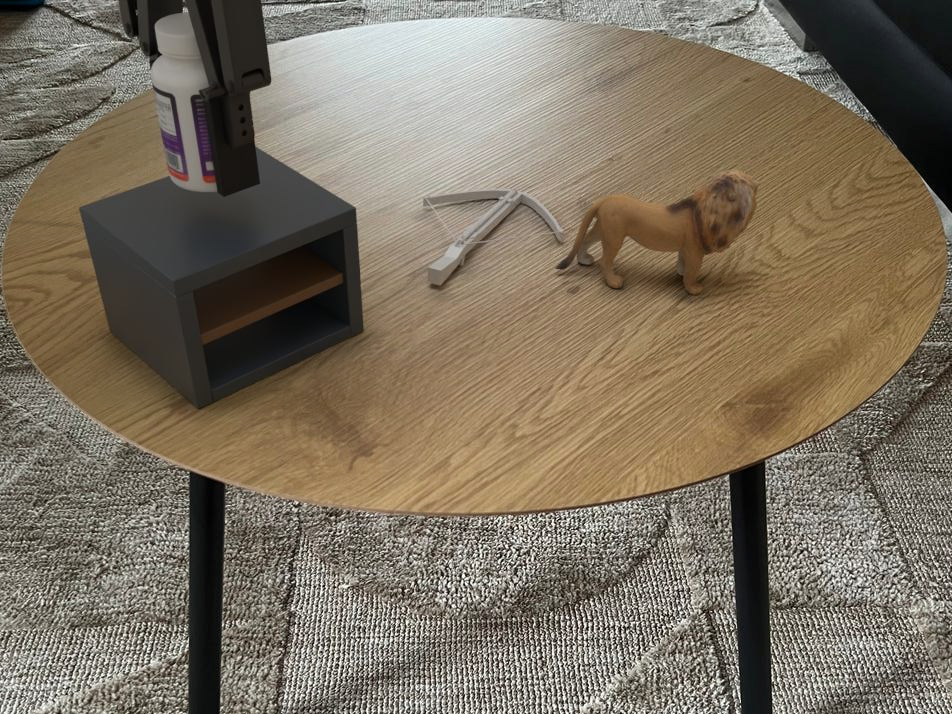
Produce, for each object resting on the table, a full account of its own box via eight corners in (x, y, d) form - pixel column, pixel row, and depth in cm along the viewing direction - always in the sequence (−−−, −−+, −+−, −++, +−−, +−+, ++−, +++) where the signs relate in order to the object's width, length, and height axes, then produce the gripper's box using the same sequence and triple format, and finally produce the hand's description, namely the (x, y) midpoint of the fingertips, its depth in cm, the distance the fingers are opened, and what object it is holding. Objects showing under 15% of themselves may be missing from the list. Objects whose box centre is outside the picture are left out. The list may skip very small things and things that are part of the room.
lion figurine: (735, 261, 88) (756, 157, 82) (746, 297, 85) (770, 191, 78) (553, 257, 88) (561, 153, 82) (556, 294, 84) (565, 187, 78)
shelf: (109, 331, 80) (78, 206, 73) (270, 264, 87) (255, 145, 80) (198, 409, 73) (173, 281, 66) (364, 330, 80) (356, 207, 73)
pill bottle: (262, 159, 73) (245, 9, 67) (241, 197, 69) (221, 42, 63) (183, 153, 74) (158, 4, 67) (158, 191, 70) (128, 37, 63)
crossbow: (452, 191, 98) (452, 169, 96) (584, 223, 94) (586, 201, 93) (362, 265, 86) (361, 241, 85) (508, 306, 83) (510, 282, 81)
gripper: (313, -233, 53) (345, 205, 68) (121, -284, 63) (187, 109, 78) (176, -213, 49) (243, 246, 65) (-5, -271, 59) (91, 139, 74)
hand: (212, 170), depth 71 cm, fingers closed on pill bottle, 5 cm apart
